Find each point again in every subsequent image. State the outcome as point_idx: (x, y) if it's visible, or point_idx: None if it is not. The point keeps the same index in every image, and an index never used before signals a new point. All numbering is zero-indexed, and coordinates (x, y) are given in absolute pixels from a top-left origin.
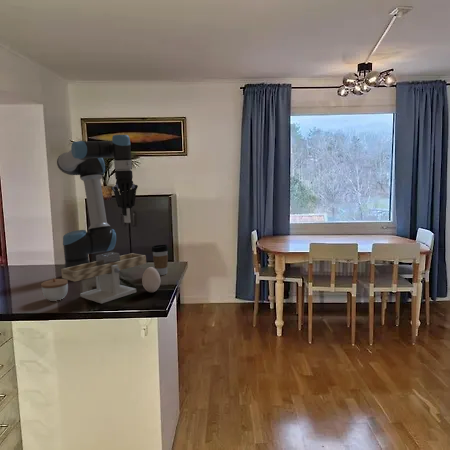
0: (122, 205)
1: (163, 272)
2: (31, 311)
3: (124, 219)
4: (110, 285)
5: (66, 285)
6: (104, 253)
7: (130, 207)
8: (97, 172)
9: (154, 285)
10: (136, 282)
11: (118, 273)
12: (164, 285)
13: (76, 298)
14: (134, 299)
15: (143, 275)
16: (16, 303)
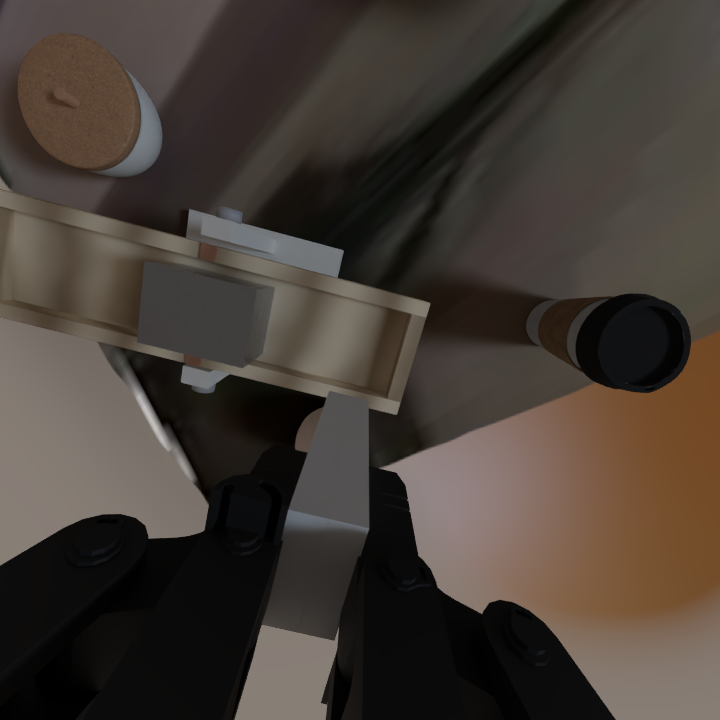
0: (78, 699)
1: (538, 345)
2: (13, 162)
3: (322, 410)
4: None
5: (117, 168)
6: (201, 280)
7: (328, 682)
8: None
9: None
10: None
11: (222, 376)
12: (410, 420)
13: (177, 211)
14: (254, 413)
15: (301, 437)
16: (22, 3)
